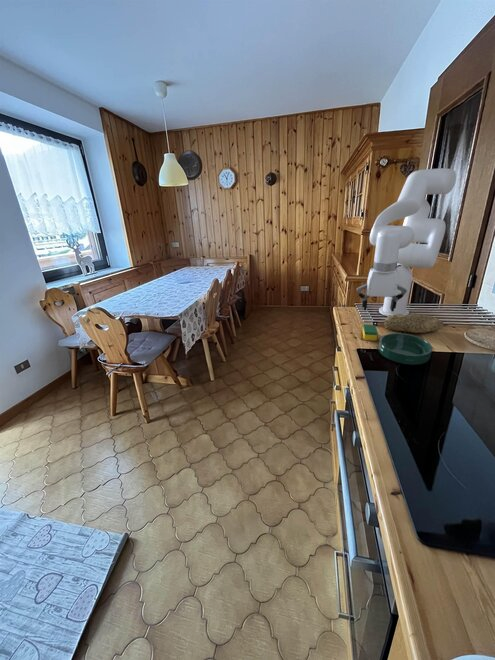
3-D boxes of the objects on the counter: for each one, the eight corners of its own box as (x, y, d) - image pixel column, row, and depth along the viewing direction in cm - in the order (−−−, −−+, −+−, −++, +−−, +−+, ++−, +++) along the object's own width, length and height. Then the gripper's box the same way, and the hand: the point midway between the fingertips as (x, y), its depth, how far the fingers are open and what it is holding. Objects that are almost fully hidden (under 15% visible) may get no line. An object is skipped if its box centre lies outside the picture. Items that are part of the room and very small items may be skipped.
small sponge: (362, 332, 117) (363, 324, 115) (374, 332, 115) (375, 325, 114) (363, 339, 111) (365, 331, 109) (376, 340, 109) (377, 332, 108)
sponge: (383, 335, 116) (442, 336, 104) (383, 316, 114) (442, 315, 102) (389, 328, 126) (444, 329, 114) (389, 311, 125) (444, 309, 113)
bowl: (375, 340, 109) (377, 331, 108) (422, 344, 105) (424, 334, 103) (381, 363, 95) (383, 353, 94) (435, 368, 91) (438, 358, 89)
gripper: (409, 263, 102) (401, 306, 110) (358, 263, 107) (354, 304, 115) (413, 269, 96) (404, 314, 104) (359, 269, 101) (354, 312, 109)
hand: (378, 309), depth 109 cm, fingers open, 9 cm apart
